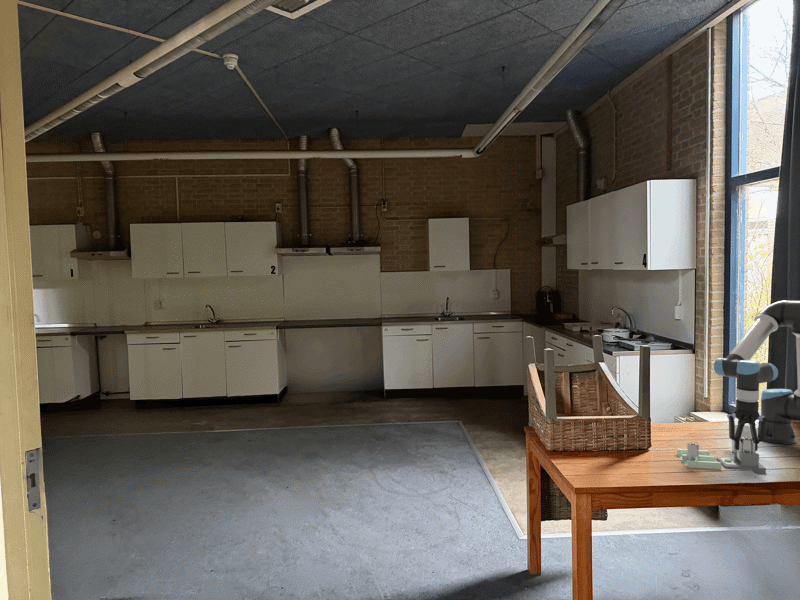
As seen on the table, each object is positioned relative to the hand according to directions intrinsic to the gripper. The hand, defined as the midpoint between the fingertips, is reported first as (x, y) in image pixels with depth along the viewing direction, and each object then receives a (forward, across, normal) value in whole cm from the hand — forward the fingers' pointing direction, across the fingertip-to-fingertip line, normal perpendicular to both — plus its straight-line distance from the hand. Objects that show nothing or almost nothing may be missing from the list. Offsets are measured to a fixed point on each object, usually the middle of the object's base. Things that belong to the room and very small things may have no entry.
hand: (745, 457), depth 215 cm
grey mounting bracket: (+4, +2, 0) cm, 4 cm away
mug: (+4, -7, -19) cm, 21 cm away
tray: (+4, +17, -1) cm, 17 cm away
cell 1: (+3, +20, +2) cm, 20 cm away
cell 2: (0, 0, 0) cm, 0 cm away
